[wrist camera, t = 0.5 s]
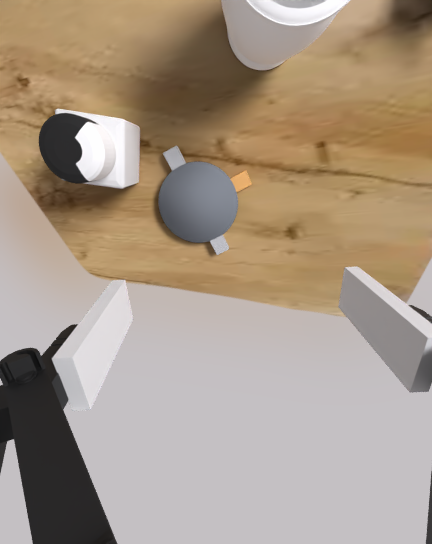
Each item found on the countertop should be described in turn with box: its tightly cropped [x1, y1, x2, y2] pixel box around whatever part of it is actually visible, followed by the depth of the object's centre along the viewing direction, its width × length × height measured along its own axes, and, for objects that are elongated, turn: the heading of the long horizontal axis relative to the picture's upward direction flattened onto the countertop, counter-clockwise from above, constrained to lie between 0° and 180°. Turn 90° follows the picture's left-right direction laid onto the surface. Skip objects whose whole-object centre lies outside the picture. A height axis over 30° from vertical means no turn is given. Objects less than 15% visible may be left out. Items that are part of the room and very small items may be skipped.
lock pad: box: [159, 146, 252, 255], centre depth 37 cm, size 16×13×1 cm
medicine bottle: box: [39, 109, 140, 189], centre depth 30 cm, size 7×7×12 cm
